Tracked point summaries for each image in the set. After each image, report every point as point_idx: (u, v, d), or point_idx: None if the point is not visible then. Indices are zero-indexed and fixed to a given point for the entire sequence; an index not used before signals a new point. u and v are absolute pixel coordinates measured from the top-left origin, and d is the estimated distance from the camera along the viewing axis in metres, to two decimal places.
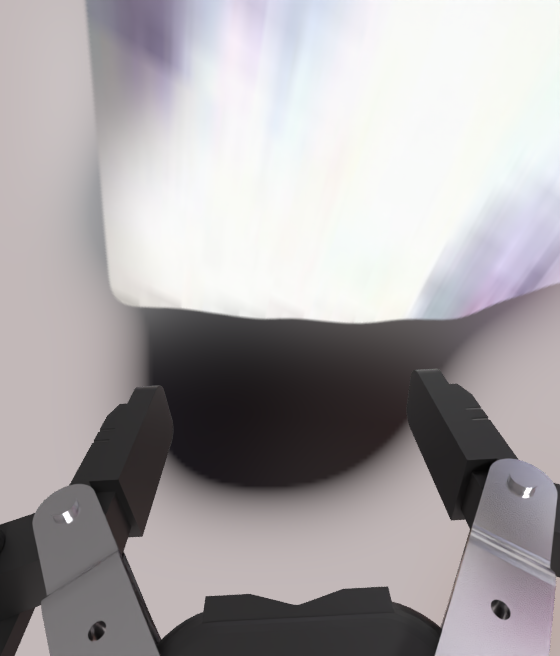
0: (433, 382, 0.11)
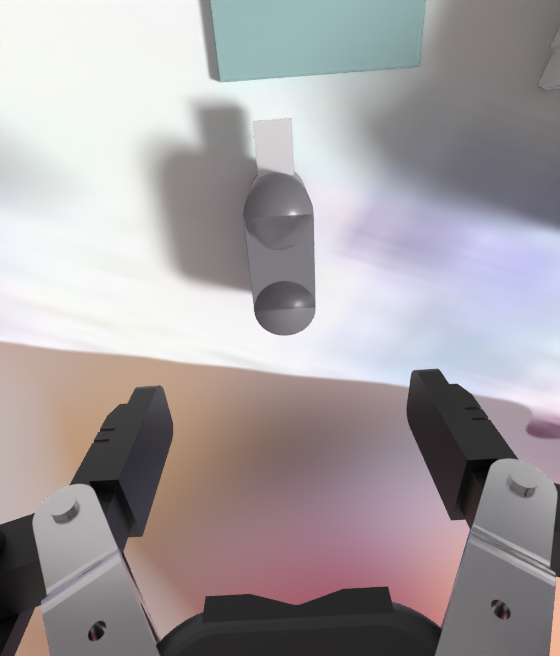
0: (433, 382, 0.11)
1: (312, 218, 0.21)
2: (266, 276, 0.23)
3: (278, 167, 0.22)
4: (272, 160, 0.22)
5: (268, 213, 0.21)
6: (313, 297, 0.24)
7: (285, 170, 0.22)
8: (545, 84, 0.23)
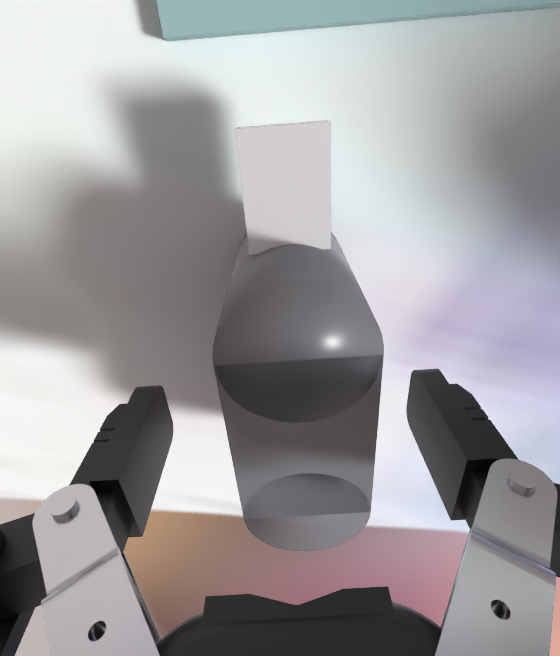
0: (433, 382, 0.11)
1: (380, 364, 0.09)
2: (268, 466, 0.11)
3: (294, 234, 0.10)
4: (283, 219, 0.10)
5: (273, 354, 0.09)
6: (367, 497, 0.11)
7: (311, 239, 0.10)
8: None
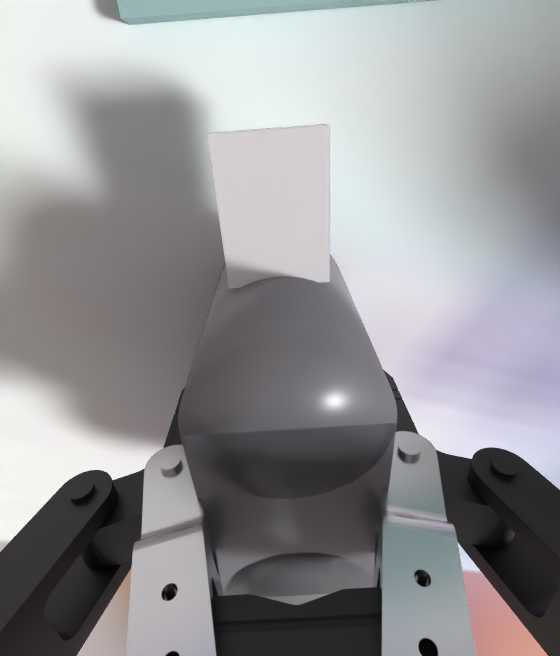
0: None
1: (392, 433, 0.07)
2: (252, 545, 0.09)
3: (285, 264, 0.08)
4: (270, 246, 0.08)
5: (256, 423, 0.07)
6: None
7: (306, 271, 0.08)
8: None
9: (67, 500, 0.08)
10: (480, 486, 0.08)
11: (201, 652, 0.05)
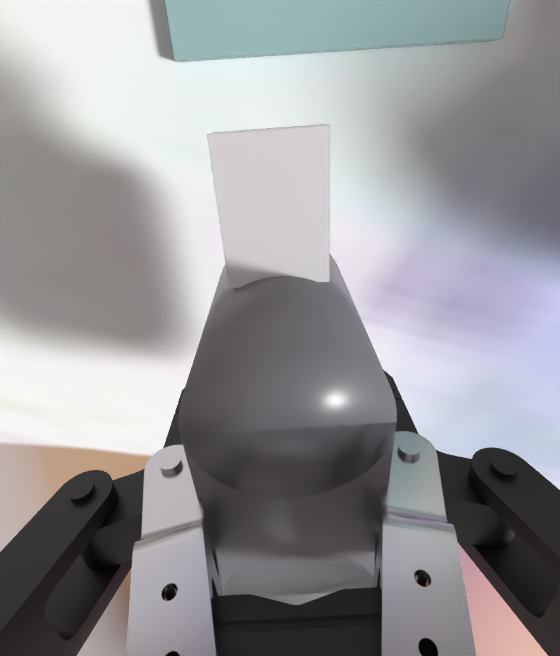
0: None
1: (392, 433, 0.07)
2: (253, 544, 0.09)
3: (284, 264, 0.08)
4: (270, 246, 0.08)
5: (256, 422, 0.07)
6: None
7: (305, 270, 0.08)
8: None
9: (67, 500, 0.08)
10: (480, 486, 0.08)
11: (201, 652, 0.05)
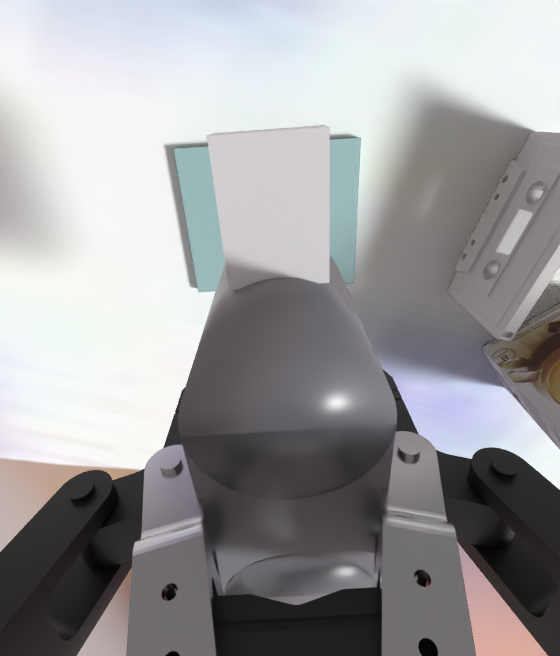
0: None
1: (392, 434, 0.07)
2: (252, 547, 0.09)
3: (284, 265, 0.08)
4: (270, 247, 0.08)
5: (256, 424, 0.07)
6: None
7: (305, 272, 0.08)
8: (451, 295, 0.29)
9: (67, 500, 0.08)
10: (480, 486, 0.08)
11: (202, 652, 0.05)
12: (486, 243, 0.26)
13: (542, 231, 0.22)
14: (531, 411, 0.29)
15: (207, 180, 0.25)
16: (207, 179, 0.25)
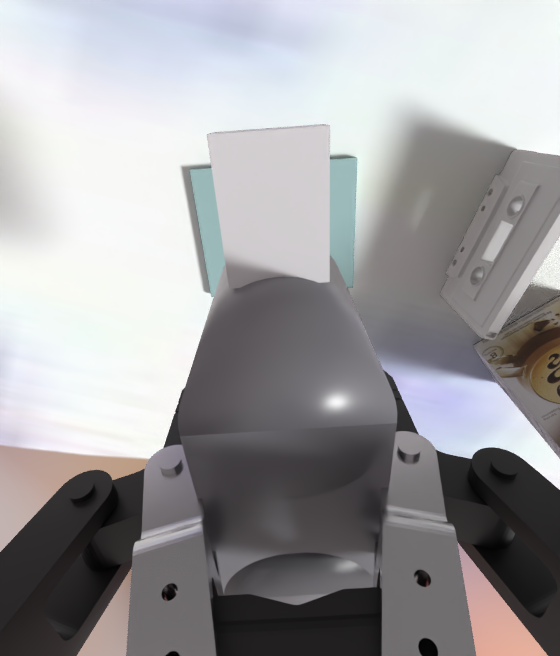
0: None
1: (392, 434, 0.07)
2: (252, 546, 0.09)
3: (284, 264, 0.08)
4: (270, 246, 0.08)
5: (256, 423, 0.07)
6: None
7: (305, 271, 0.08)
8: (443, 298, 0.32)
9: (67, 500, 0.08)
10: (480, 486, 0.08)
11: (201, 652, 0.05)
12: (474, 251, 0.29)
13: (520, 242, 0.24)
14: (517, 404, 0.31)
15: None
16: None
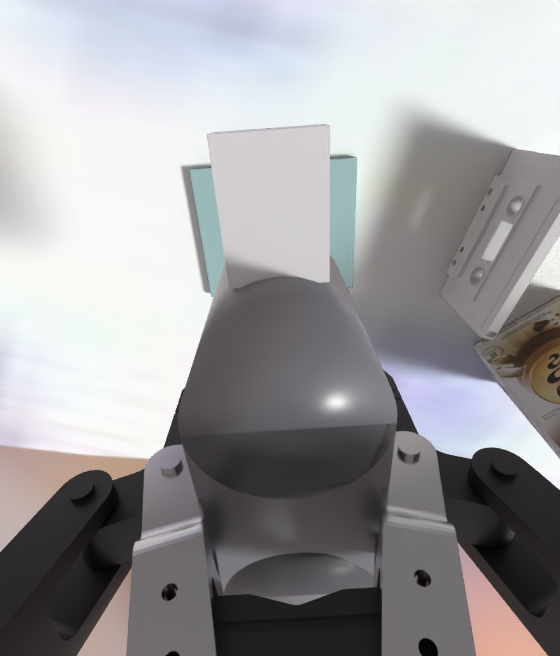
0: None
1: (392, 434, 0.07)
2: (252, 546, 0.09)
3: (284, 264, 0.08)
4: (270, 246, 0.08)
5: (256, 423, 0.07)
6: None
7: (305, 271, 0.08)
8: (443, 298, 0.32)
9: (67, 500, 0.08)
10: (480, 486, 0.08)
11: (201, 652, 0.05)
12: (473, 250, 0.29)
13: (520, 241, 0.24)
14: (517, 404, 0.31)
15: None
16: None
